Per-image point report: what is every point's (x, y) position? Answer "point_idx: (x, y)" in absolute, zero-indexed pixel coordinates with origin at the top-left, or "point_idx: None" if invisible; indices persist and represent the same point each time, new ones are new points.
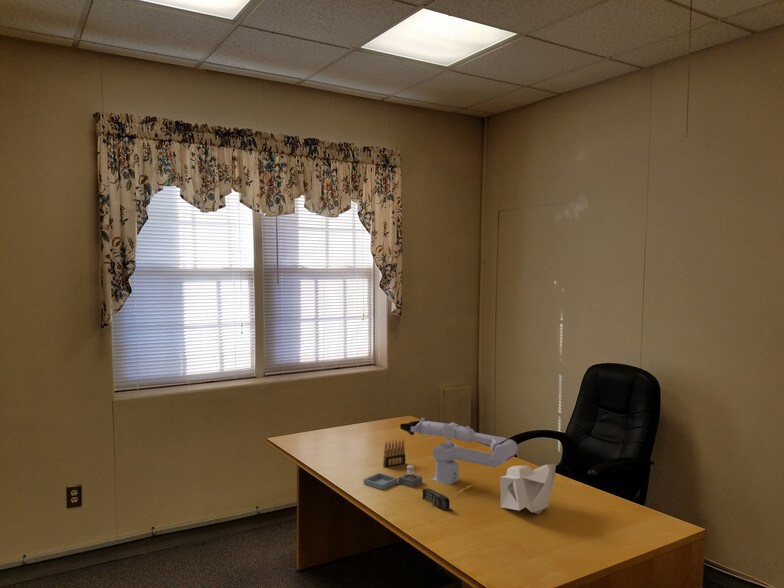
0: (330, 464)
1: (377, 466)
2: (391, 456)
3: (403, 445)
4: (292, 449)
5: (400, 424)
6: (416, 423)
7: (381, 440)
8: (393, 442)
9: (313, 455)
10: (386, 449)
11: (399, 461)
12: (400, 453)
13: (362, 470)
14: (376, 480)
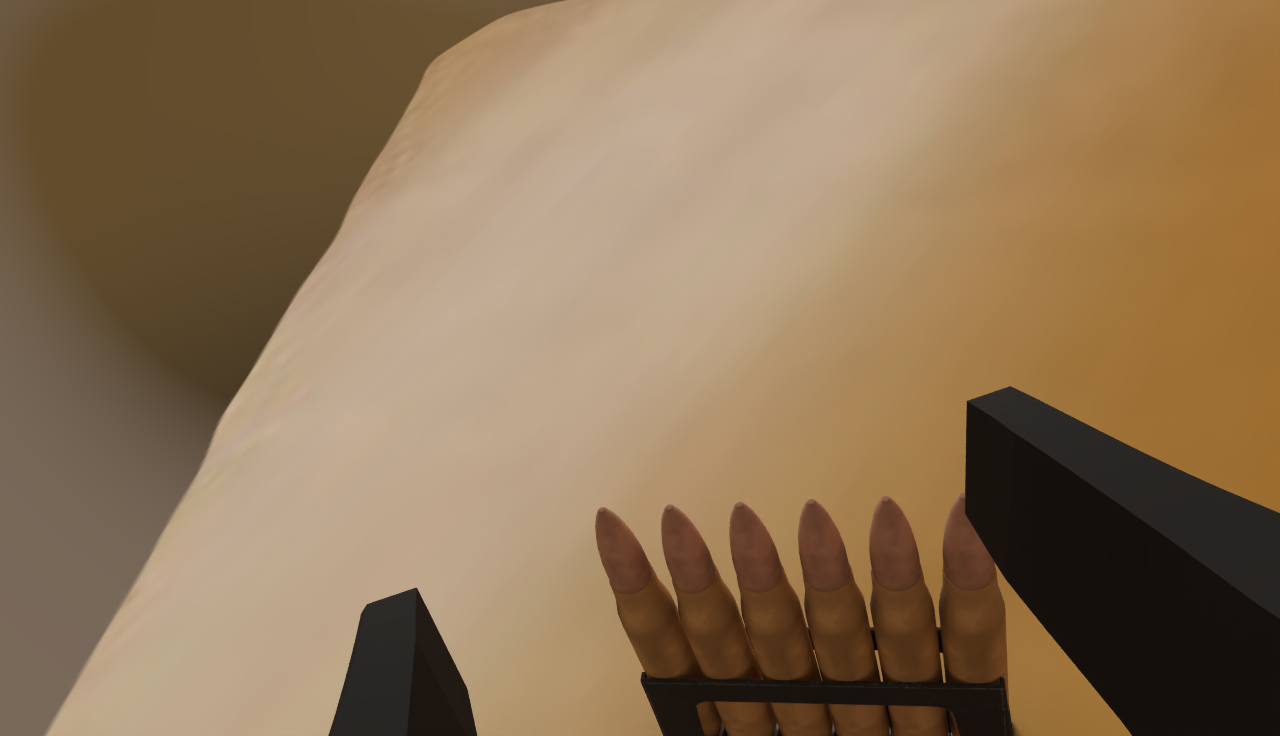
0: (355, 427)
1: None
2: (738, 683)
3: (967, 590)
4: (411, 149)
5: (363, 617)
6: (1167, 615)
7: (1097, 95)
8: (742, 539)
9: (419, 248)
10: (627, 607)
11: (901, 732)
12: (907, 671)
13: None
14: None
